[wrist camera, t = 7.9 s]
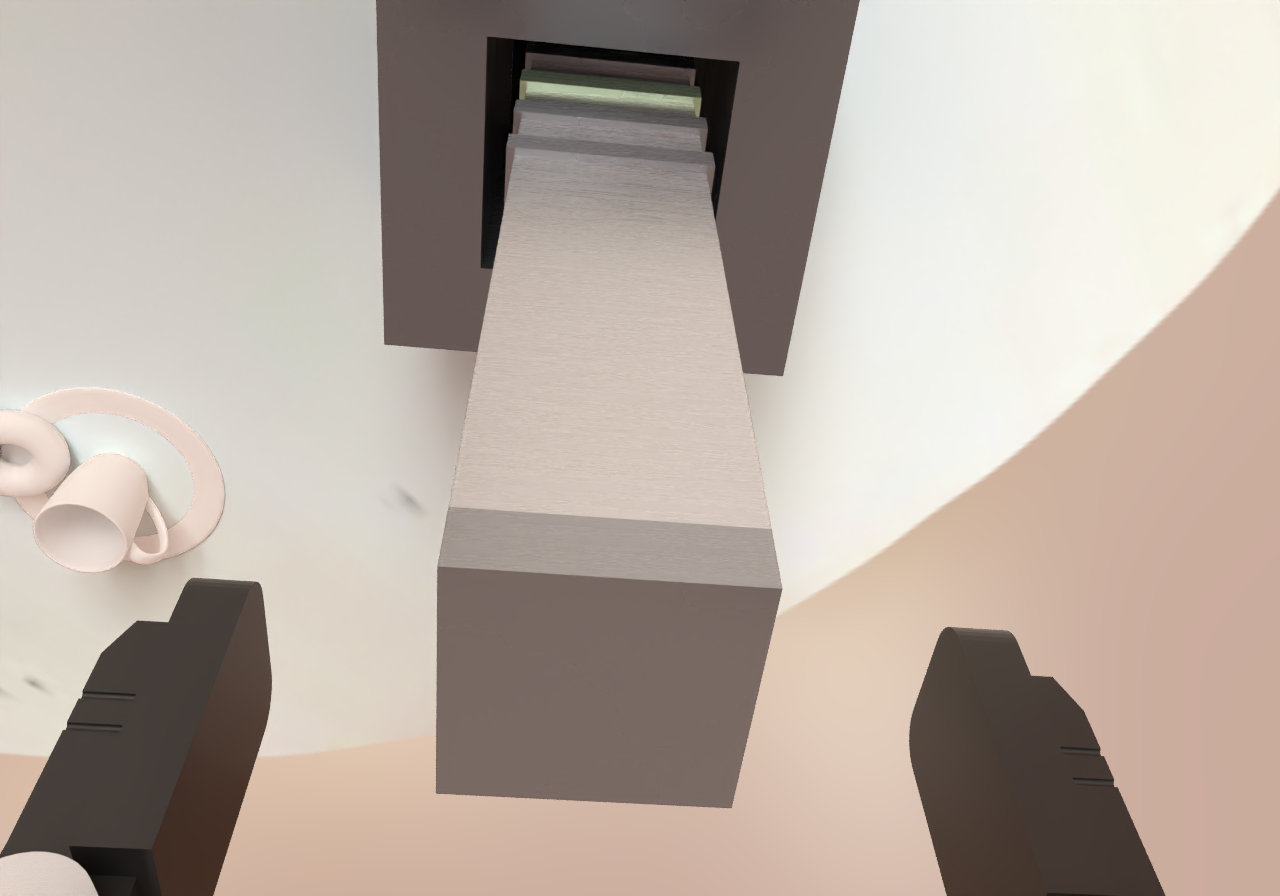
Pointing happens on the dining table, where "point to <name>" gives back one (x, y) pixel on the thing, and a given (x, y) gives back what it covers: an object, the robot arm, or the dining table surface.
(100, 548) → the teacup and saucer
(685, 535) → the column
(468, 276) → the housing
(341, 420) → the dining table surface
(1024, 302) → the dining table surface
